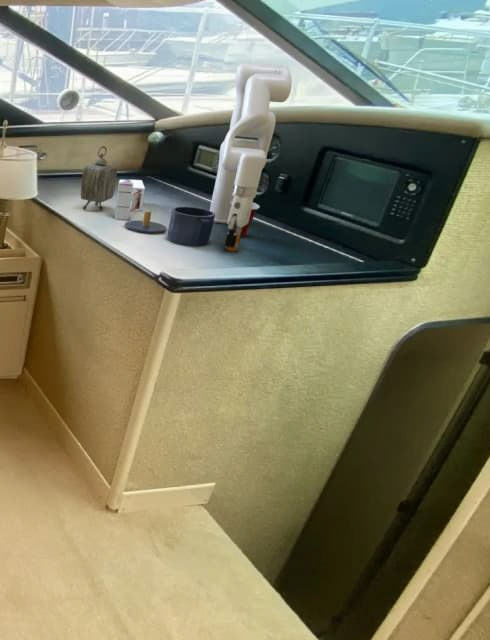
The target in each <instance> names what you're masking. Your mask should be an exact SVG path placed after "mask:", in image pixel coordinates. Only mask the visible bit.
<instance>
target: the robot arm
mask: <svg viewBox="0 0 490 640" xmlns="http://www.w3.org/2000/svg"><path fill="white" fill-rule="evenodd" d="M234 84H235V92H236V97H235V102H234V107H233V111H232V115H231V119H230V123H229V129H228V130H229V131H228V132H227V133H226V136H225V137H224V140H223V141H222V143H221V144H220V148H219V159H218V167H217V168H218V169H217V172H216V173H217V174H216V178H215V182H214V186H213V193H212V196H211V201H210V207H209V210H210V211H212V212H214V213H215V218H214V222H213V223H217V224H227V226H228V231H227V234H226V237H225V243H224V246H225V247H226V246H228V247H234V246H235V242H236V238H237V236H236V234H237V231H238V227H239V228H243V226H245V225H247V224H248V222H249V218H250V213H251V208H252V203H254V199H255V198H256V195H257V191H258V188H259V184H260V180H261V175H262V171H263V169H264V168H265V166H266V164H267V156H268V153H269V149H270V146H271V142H272V139H273V135H274V131H275V127H276V121H277V120H276V115H275V113H274V112H272V111H270V104H271V103H284V102H286V101H287V100H289V97H290V95H291V91H292V86H293V85H292V84H293V82H292V74H291V71H290V68H289V67H288V66H287V65H283V64H271V63H270V64H269V63H258V62H246V63H242V64H240V65H238V67H237V69H236V71H235V76H234ZM236 137H238V138H236ZM239 137H244V138H239ZM247 138H256V139H247ZM231 200H233V202H232V205H231V209H230V201H231ZM234 225H237V227H236V226H234ZM234 228H236V229H234ZM241 232H242V229H241ZM241 238H242V237H241V234H240V239H239V242H240V240H241Z"/></svg>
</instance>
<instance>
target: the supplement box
mask: <svg viewBox="0 0 490 640" xmlns="http://www.w3.org/2000/svg"><path fill="white" fill-rule="evenodd" d="M234 226H236V227H237V225H234ZM234 229H236V228H234ZM241 229H242V228H239V227H238V231H237V234H236V236H237V238H236V242H235V246H234V247H228V246H225V247H224V249H225V250H227V251H228V252H237V251H238V249H239V244H240V241H239V239H240V240H241V237H240V234H241Z"/></svg>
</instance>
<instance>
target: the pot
mask: <svg viewBox="0 0 490 640" xmlns="http://www.w3.org/2000/svg"><path fill="white" fill-rule="evenodd" d="M214 218H215V213H214V212H212V211H210V209H206V208H201V207H195V206H176V207H173V208H172V209H171V214H170V219H169V225H168V229H167V235H166V238H167V241H169V242H171V243H173V244H176V245H180V246H185V247H205V246H208V245H209V244H210V240H211V235H212V232H213V231H212V230H213V227H214V223H215V222H214Z"/></svg>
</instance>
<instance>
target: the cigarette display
mask: <svg viewBox="0 0 490 640" xmlns="http://www.w3.org/2000/svg"><path fill="white" fill-rule="evenodd" d="M128 180H132V181H133V191H132V200H131V207H130V211H134V212H135V211H136V212H141V211H142V209H143V203H144V198H145V197H144V196H145V189H146V188H145V185H144V182H143V180H142V179H128Z"/></svg>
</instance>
